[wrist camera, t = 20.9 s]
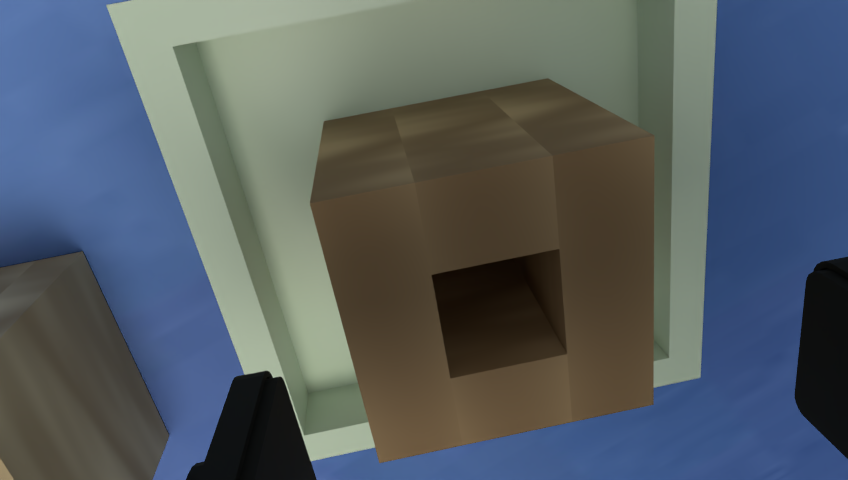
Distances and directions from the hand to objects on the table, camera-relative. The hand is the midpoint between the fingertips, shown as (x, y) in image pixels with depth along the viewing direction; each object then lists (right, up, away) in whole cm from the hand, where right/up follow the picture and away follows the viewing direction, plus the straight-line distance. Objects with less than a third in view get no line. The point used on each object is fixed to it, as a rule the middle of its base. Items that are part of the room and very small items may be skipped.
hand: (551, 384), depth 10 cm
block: (-1, +4, +6) cm, 7 cm away
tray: (-2, +4, +7) cm, 8 cm away
